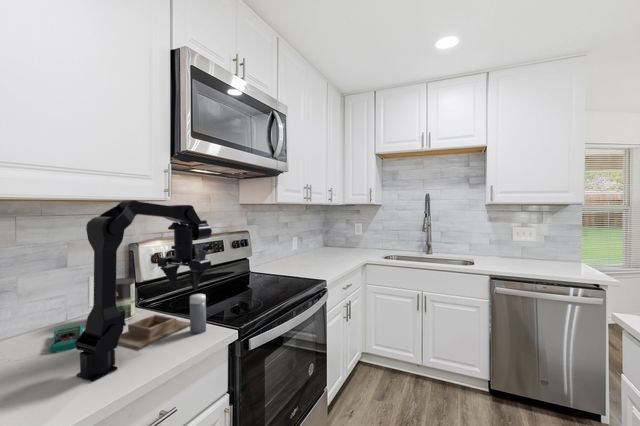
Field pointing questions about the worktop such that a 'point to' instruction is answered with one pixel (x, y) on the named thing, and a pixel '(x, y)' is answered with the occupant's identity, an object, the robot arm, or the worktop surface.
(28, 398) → the worktop surface
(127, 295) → the coffee can
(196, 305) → the grey upright cylinder
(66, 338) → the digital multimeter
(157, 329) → the dock
